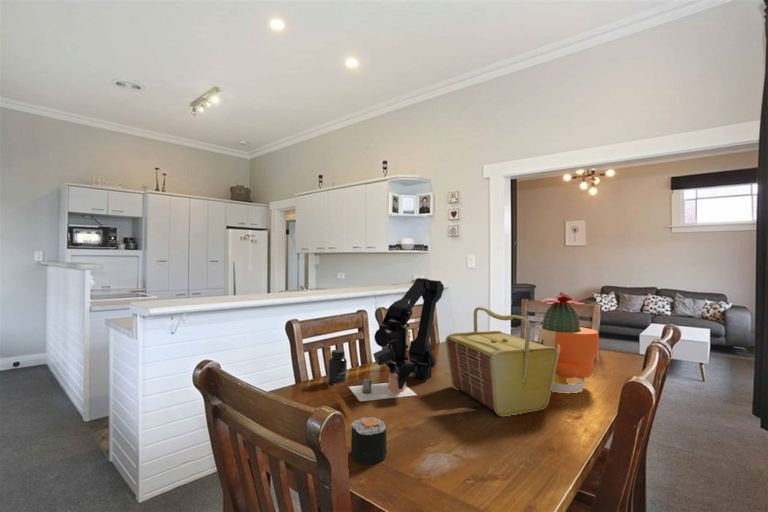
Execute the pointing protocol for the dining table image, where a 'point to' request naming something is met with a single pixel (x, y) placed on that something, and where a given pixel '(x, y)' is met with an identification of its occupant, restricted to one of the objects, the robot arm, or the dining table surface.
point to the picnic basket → (502, 368)
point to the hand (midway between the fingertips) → (397, 386)
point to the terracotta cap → (395, 383)
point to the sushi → (368, 440)
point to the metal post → (366, 386)
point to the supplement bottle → (337, 367)
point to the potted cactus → (568, 342)
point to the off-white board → (379, 392)
